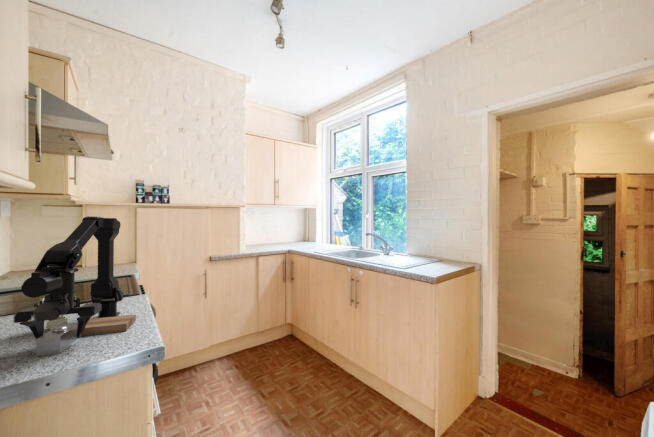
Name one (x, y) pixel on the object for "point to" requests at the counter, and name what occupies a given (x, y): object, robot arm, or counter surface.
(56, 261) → the robot arm
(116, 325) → the walnut stand
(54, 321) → the pneumatic valve
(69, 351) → the counter surface
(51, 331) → the housing
